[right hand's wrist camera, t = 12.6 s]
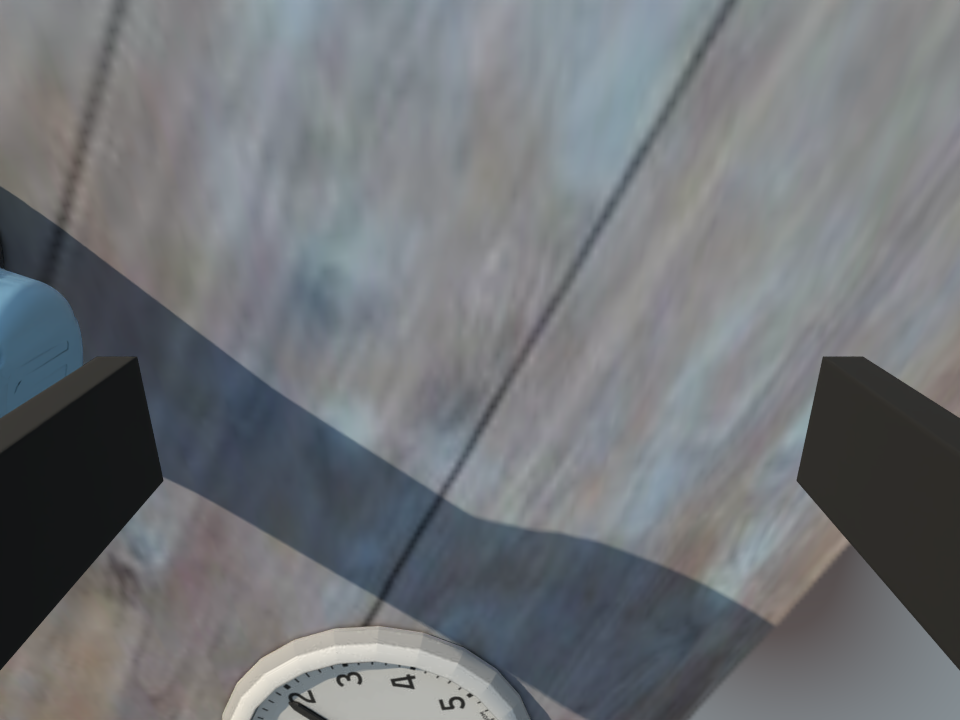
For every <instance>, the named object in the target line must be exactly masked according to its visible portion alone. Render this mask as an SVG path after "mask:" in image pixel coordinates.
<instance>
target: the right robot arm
mask: <svg viewBox="0 0 960 720" xmlns="http://www.w3.org/2000/svg"><path fill="white" fill-rule="evenodd" d="M162 482H163V476H162V472H161V467H160V462H159V457H158V453H157V448H156V443H155V439H154V434H153V429H152V425H151V420H150V415H149V410H148V406H147V401H146V396H145V392H144V387H143V382H142V378H141V373H140V368H139V363H138V359H137V357H96V358H94V359H93V360H91V361H89V362H88V363H86V364H85V365H83V366H82V367H80V368H78V369H77V370H75V371H74V372H72V373H71V374H69V375H67V376H66V377H64V378H63V379H61V380H60V381H58V382H56V383H55V384H53V385H52V386H50V387H49V388H47V389H45V390H44V391H42V392H41V393H39V394H38V395H36V396H34V397H33V398H31V399H30V400H28V401H27V402H25V403H23V404H22V405H20V406H19V407H17V408H16V409H14V410H12V411H11V412H9V413H8V414H6V415H5V416H3V417H1V418H0V670H1V669H2V668H3V667H4V665H5V664H6V663H7V662H8V661H9V660H10V658H11V657H12V656H13V655H14V654H15V653H16V651H17V650H18V649H19V648H20V647H21V646H22V644H23V643H24V642H25V641H26V640H27V639H28V637H29V636H30V635H31V634H32V633H33V632H34V631H35V629H36V628H37V627H38V626H39V625H40V624H41V622H42V621H43V620H44V619H45V618H46V617H47V615H48V614H49V613H50V612H51V611H52V610H53V608H54V607H55V606H56V605H57V604H58V603H59V601H60V600H61V599H62V598H63V597H64V596H65V595H66V593H67V592H68V591H69V590H70V589H71V588H72V586H73V585H74V584H75V583H76V582H77V581H78V579H79V578H80V577H81V576H82V575H83V574H84V572H85V571H86V570H87V569H88V568H89V567H90V565H91V564H92V563H93V562H94V561H95V560H96V559H97V557H98V556H99V555H100V554H101V553H102V552H103V550H104V549H105V548H106V547H107V546H108V545H109V543H110V542H111V541H112V540H113V539H114V538H115V536H116V535H117V534H118V533H119V532H120V531H121V529H122V528H123V527H124V526H125V525H126V524H127V523H128V521H129V520H130V519H131V518H132V517H133V516H134V514H135V513H136V512H137V511H138V510H139V509H140V507H141V506H142V505H143V504H144V503H145V502H146V500H147V499H148V498H149V497H150V496H151V495H152V493H153V492H154V491H155V490H156V489H157V488H158V486H159V485H160V484H161V483H162ZM797 482H798V483H799V484H800V485H801V487H802V488H803V489H804V490H805V491H806V492H807V493H808V495H809V496H810V497H811V498H812V499H813V500H814V502H815V503H816V504H817V505H818V506H819V507H820V509H821V510H822V511H823V512H824V513H825V514H826V516H827V517H828V518H829V519H830V520H831V521H832V523H833V524H834V525H835V526H836V527H837V528H838V529H839V531H840V532H841V533H842V534H843V535H844V536H845V538H846V539H847V540H848V541H849V542H850V543H851V545H852V546H853V547H854V548H855V549H856V550H857V552H858V553H859V554H860V555H861V556H862V557H863V559H864V560H865V561H866V562H867V563H868V564H869V565H870V567H871V568H872V569H873V570H874V571H875V572H876V574H877V575H878V576H879V577H880V578H881V579H882V581H883V582H884V583H885V584H886V585H887V586H888V587H889V589H890V590H891V591H892V592H893V593H894V595H895V596H896V597H897V598H898V599H899V600H900V601H901V603H902V604H903V605H904V606H905V607H906V608H907V610H908V611H909V612H910V613H911V614H912V615H913V617H914V618H915V619H916V620H917V621H918V622H919V624H920V625H921V626H922V627H923V628H924V629H925V631H926V632H927V633H928V634H929V635H930V636H931V637H932V639H933V640H934V641H935V642H936V643H937V644H938V646H939V647H940V648H941V649H942V650H943V651H944V653H945V654H946V655H947V656H948V657H949V658H950V660H951V661H952V662H953V663H954V664H955V665H956V667H957V668H958V669H959V670H960V418H959V417H957V416H955V415H954V414H952V413H951V412H949V411H948V410H946V409H944V408H943V407H941V406H940V405H938V404H937V403H935V402H933V401H932V400H930V399H929V398H927V397H926V396H924V395H922V394H921V393H919V392H918V391H916V390H915V389H913V388H911V387H910V386H908V385H907V384H905V383H904V382H902V381H900V380H899V379H897V378H896V377H894V376H893V375H891V374H889V373H888V372H886V371H885V370H883V369H882V368H880V367H878V366H877V365H875V364H874V363H872V362H871V361H869V360H867V359H866V358H864V357H823V359H822V363H821V368H820V373H819V378H818V382H817V387H816V392H815V396H814V401H813V406H812V410H811V415H810V420H809V425H808V429H807V434H806V439H805V443H804V448H803V453H802V457H801V462H800V467H799V472H798V476H797Z"/></svg>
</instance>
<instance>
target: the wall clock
mask: <svg viewBox="0 0 960 720" xmlns="http://www.w3.org/2000/svg"><path fill="white" fill-rule="evenodd" d="M222 720H531V719H530V717H529V714H528V712H527V710H526V708H525V705H524V703H523V701H522V699H521V696H520V695H519V694H518V693H517V691H516V690H515V689H514V688H513V687H512V686H511V685H510V684H509V682H508V681H507V680H506V679H505V678H504V677H503V676H502V675H501V673H500V672H499V671H498V670H497V669H496V668H494V667H493V666H491V665H490V664H488V663H487V662H485V661H484V660H482V659H481V658H479V657H477V656H476V655H474V654H473V653H471V652H470V651H468V650H467V649H465V648H464V647H461V646H458V645H456V644H453V643H450V642H448V641H445V640H442V639H439V638H437V637H434V636H431V635H429V634H426V633H423V632H416V631H409V630H402V629H396V628H389V627H382V626H372V627H354V628H337V629H332V630H328V631H324V632H321V633H317V634H314V635H310V636H306V637H303V638H299V639H296V640H293V641H291V642H290V643H288V644H286V645H284V646H283V647H281V648H279V649H277V650H275V651H274V652H272V653H270V654H268V655H267V656H265V657H263V658H261V659H260V660H259V661H258V662H257V663H256V664H255V665H254V666H253V667H252V668H251V669H250V670H249V671H248V672H247V673H246V674H245V675H244V677H243V678H242V679H241V680H240V681H239V682H238V683H237V684H236V686H235V689H234V691H233V693H232V695H231V697H230V699H229V702H228V704H227V706H226V708H225V710H224V712H223V715H222Z"/></svg>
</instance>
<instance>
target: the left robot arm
mask: <svg viewBox="0 0 960 720" xmlns="http://www.w3.org/2000/svg"><path fill="white" fill-rule="evenodd" d="M82 366H83V346H82V337H81V332H80V328H79V324H78V321H77V319H76V318H75V316H74V313H73V311H72V309H71V306H70V305H69V303H68V301H67V300H66V299H65V298H64V297H63V296H62V294H60V293H59V292H58V291H57V290H56V289H54V288H52V287H51V286H49V285H47V284H45V283H43V282H40V281H37V280H34V279H31V278H28V277H25V276H22V275H19V274H16V273H13V272H10V271H7V270H5V269H3V254H2V247H1V242H0V418H1V417H3V416H5V415H6V414H8V413H9V412H11V411H12V410H14V409H16V408H17V407H19V406H20V405H22V404H23V403H25V402H27V401H28V400H30V399H31V398H33V397H34V396H36V395H38V394H39V393H41V392H42V391H44V390H45V389H47V388H49V387H50V386H52V385H53V384H55V383H56V382H58V381H60V380H61V379H63V378H64V377H66V376H67V375H69V374H71V373H72V372H74V371H75V370H77V369H78V368H80V367H82Z"/></svg>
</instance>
